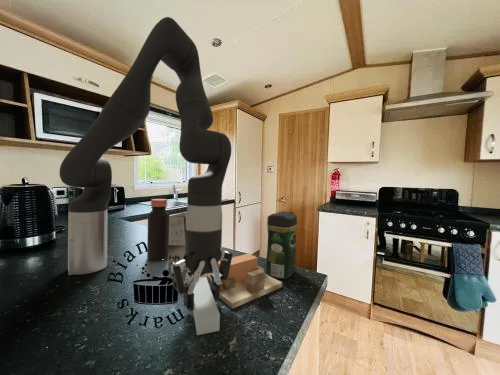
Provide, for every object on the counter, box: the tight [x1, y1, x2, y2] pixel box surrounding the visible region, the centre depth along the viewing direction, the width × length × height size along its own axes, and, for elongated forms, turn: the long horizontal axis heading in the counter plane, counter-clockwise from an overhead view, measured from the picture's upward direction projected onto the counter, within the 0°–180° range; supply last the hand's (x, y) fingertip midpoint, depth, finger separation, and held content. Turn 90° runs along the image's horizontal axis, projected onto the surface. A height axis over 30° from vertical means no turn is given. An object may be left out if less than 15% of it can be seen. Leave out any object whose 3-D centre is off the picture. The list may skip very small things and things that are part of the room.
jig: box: [199, 260, 283, 310], centre depth 59 cm, size 16×18×5 cm
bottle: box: [146, 198, 171, 262], centre depth 75 cm, size 7×7×20 cm
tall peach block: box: [217, 253, 258, 287], centre depth 59 cm, size 11×4×5 cm, turn 130°
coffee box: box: [167, 212, 188, 271], centre depth 71 cm, size 9×6×16 cm
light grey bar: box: [192, 277, 221, 336], centre depth 47 cm, size 4×16×3 cm, turn 20°
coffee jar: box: [265, 210, 298, 280], centre depth 66 cm, size 10×8×19 cm
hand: (202, 304), depth 47 cm, fingers closed on light grey bar, 5 cm apart
